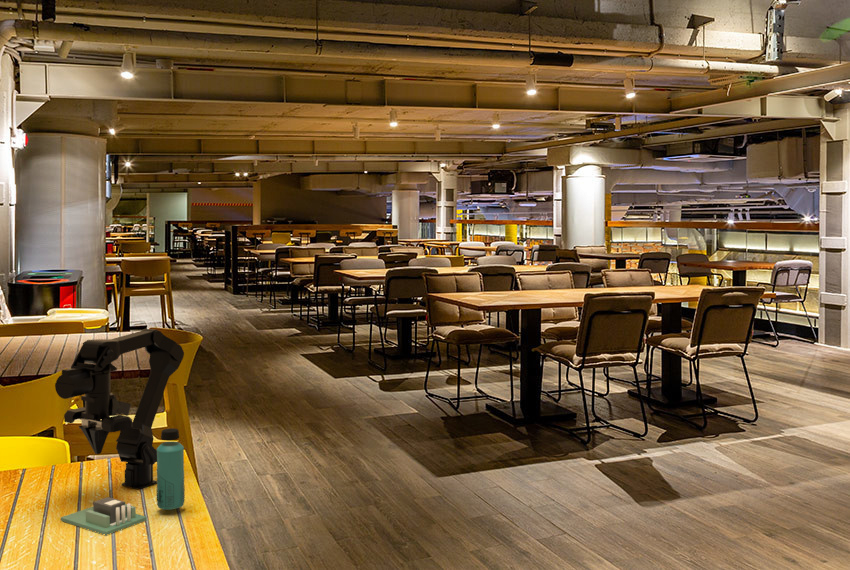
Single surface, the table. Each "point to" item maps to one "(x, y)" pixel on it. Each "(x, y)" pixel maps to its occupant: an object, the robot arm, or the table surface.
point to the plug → (108, 507)
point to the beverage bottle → (170, 471)
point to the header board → (104, 519)
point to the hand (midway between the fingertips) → (98, 453)
